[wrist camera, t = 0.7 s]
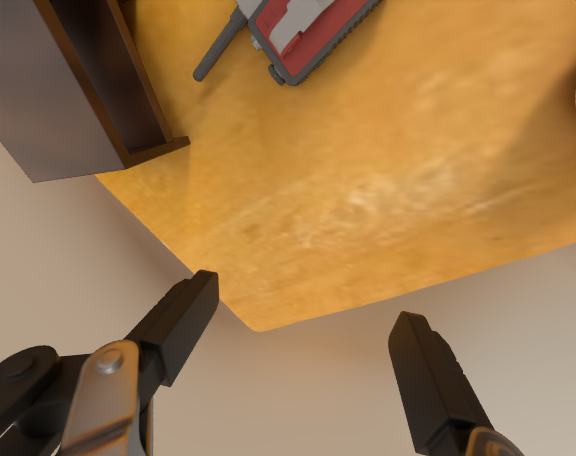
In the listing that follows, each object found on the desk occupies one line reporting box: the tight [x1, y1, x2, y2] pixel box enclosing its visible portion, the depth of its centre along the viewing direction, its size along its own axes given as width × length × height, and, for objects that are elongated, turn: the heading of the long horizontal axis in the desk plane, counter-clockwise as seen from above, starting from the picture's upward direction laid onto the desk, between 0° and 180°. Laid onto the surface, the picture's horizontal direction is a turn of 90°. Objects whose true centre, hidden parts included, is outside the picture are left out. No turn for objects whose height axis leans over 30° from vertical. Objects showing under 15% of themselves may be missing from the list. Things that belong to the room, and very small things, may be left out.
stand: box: [0, 0, 190, 183], centre depth 22 cm, size 15×12×11 cm
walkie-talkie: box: [193, 0, 381, 86], centre depth 19 cm, size 9×4×20 cm
